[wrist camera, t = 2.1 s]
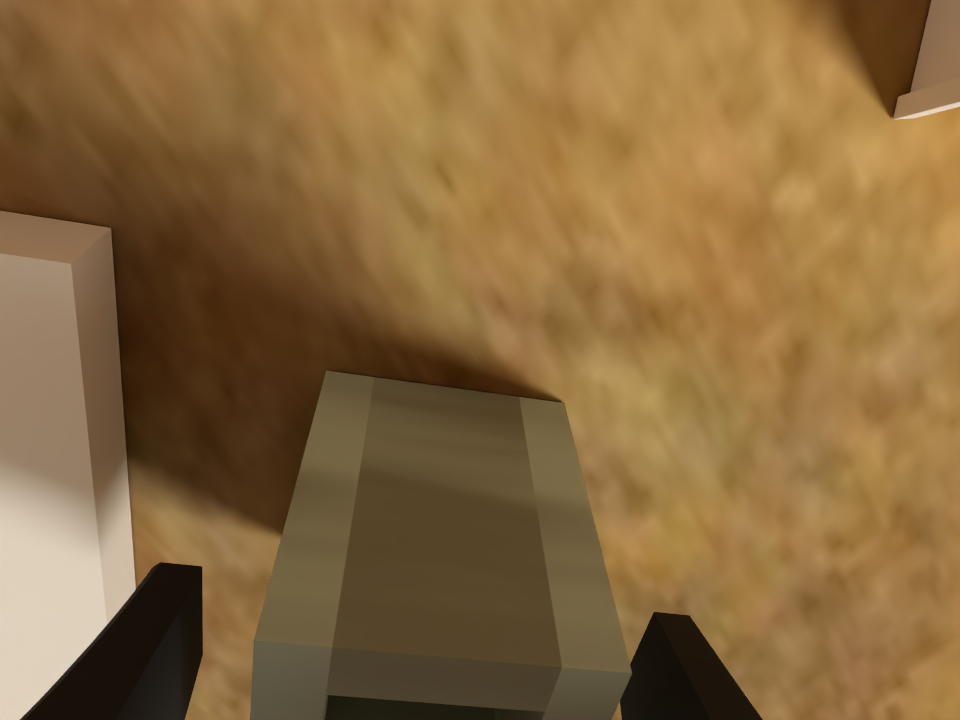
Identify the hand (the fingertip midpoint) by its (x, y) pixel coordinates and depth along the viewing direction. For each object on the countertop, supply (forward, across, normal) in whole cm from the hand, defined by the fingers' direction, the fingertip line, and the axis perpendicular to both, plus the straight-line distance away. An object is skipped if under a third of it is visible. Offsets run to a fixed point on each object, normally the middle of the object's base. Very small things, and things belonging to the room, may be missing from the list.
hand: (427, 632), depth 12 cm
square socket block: (+4, 0, 0) cm, 4 cm away
